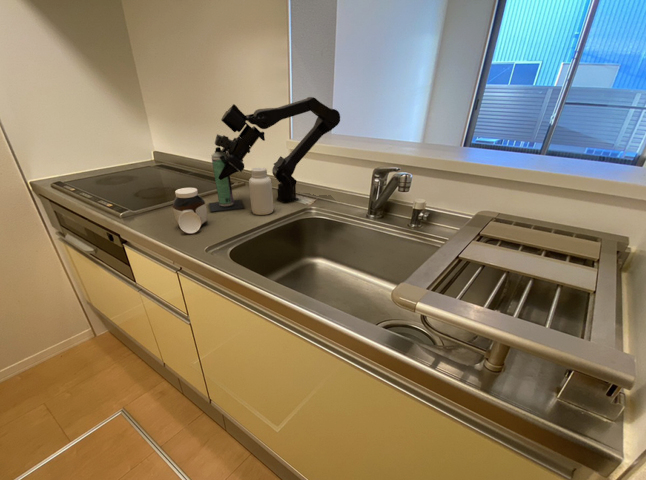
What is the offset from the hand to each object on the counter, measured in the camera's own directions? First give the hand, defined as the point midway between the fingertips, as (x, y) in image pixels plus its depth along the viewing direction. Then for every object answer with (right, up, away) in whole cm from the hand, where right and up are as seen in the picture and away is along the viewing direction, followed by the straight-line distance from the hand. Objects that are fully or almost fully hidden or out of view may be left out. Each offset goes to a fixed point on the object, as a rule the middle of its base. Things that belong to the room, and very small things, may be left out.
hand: (218, 177), depth 124 cm
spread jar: (-5, -21, -11) cm, 24 cm away
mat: (+1, -9, +6) cm, 11 cm away
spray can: (+2, -8, +6) cm, 10 cm away
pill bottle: (+16, -13, +1) cm, 20 cm away
